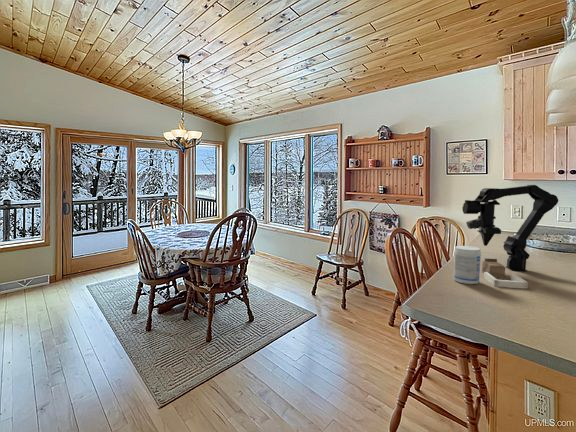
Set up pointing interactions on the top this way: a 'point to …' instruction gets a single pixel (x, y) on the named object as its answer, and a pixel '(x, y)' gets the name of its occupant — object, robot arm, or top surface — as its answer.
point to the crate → (493, 268)
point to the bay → (507, 281)
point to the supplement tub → (467, 264)
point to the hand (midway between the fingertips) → (485, 245)
